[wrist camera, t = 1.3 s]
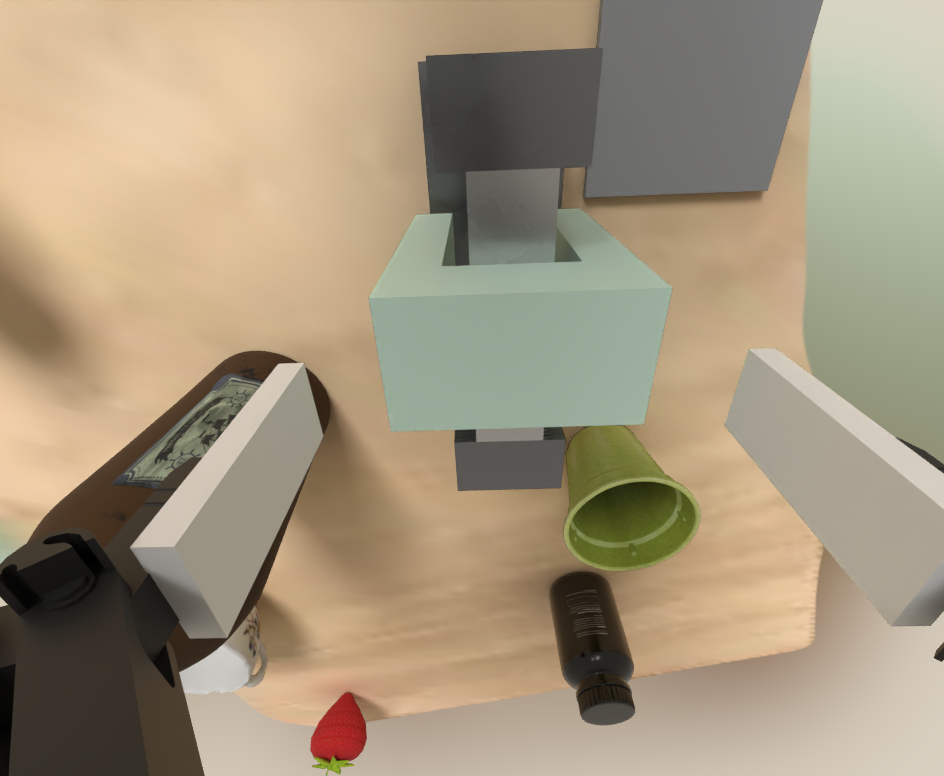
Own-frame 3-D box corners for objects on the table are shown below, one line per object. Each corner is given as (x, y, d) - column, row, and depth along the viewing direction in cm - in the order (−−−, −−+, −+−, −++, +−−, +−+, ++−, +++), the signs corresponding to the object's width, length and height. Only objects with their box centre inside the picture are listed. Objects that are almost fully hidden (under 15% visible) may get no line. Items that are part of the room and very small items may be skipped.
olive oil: (300, 470, 39) (99, 885, 18) (183, 408, 36) (-238, 833, 15) (363, 394, 35) (197, 820, 14) (237, 314, 32) (-246, 724, 10)
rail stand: (419, 63, 24) (367, 12, 12) (567, 57, 24) (664, -2, 12) (444, 368, 34) (429, 506, 22) (548, 365, 34) (589, 501, 22)
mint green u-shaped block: (416, 214, 24) (368, 298, 13) (580, 208, 24) (672, 287, 13) (424, 301, 27) (391, 431, 16) (572, 296, 27) (643, 424, 16)
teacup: (138, 579, 48) (83, 656, 41) (216, 538, 44) (170, 615, 38) (243, 643, 55) (211, 718, 48) (319, 612, 51) (295, 688, 44)
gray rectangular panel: (604, -46, 22) (608, -50, 21) (832, -58, 21) (841, -62, 21) (583, 196, 27) (585, 197, 27) (761, 189, 27) (767, 190, 27)
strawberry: (382, 697, 62) (368, 790, 54) (337, 707, 64) (316, 798, 55) (360, 678, 59) (342, 772, 51) (313, 689, 61) (288, 782, 52)
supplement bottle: (537, 599, 50) (554, 724, 40) (565, 563, 46) (592, 690, 36) (591, 612, 51) (621, 736, 41) (622, 577, 48) (663, 703, 37)
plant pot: (526, 438, 37) (539, 517, 30) (629, 385, 35) (672, 458, 27) (576, 502, 42) (599, 586, 34) (672, 459, 39) (719, 540, 31)
